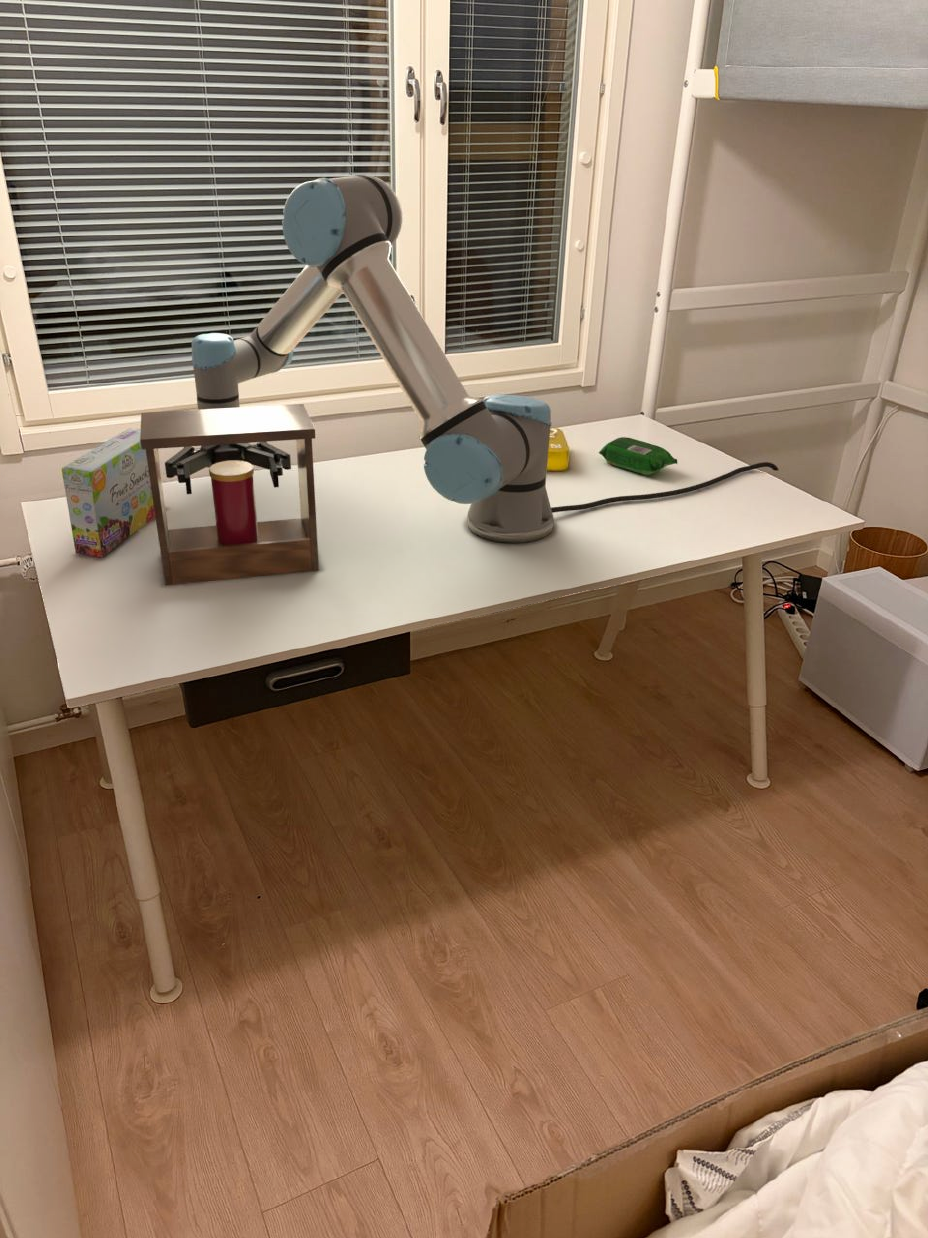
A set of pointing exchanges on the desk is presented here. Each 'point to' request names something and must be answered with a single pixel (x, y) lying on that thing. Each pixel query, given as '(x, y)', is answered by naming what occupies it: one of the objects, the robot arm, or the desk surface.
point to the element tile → (557, 451)
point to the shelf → (278, 542)
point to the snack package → (636, 455)
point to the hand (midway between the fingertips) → (232, 482)
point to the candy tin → (234, 502)
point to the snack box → (108, 494)
